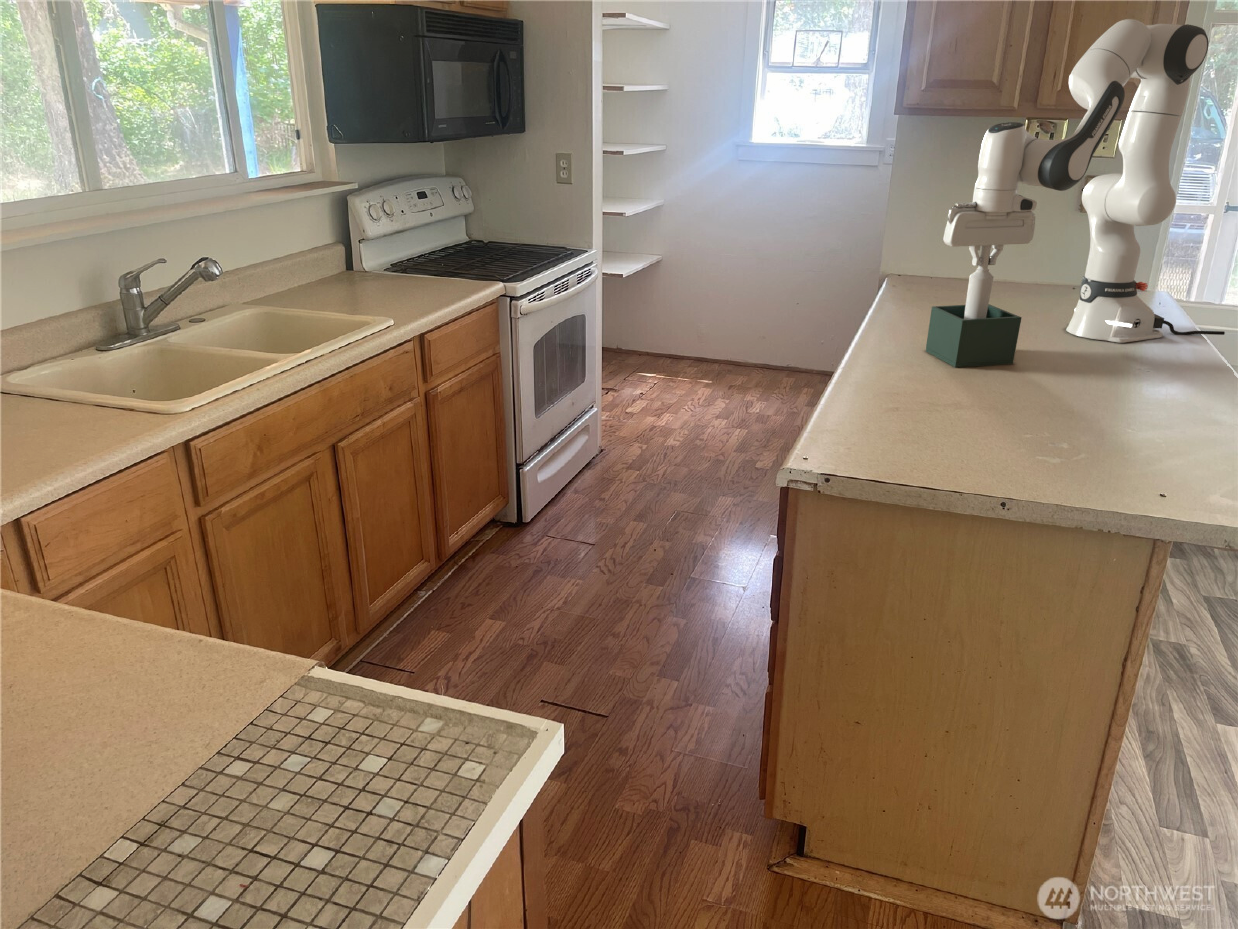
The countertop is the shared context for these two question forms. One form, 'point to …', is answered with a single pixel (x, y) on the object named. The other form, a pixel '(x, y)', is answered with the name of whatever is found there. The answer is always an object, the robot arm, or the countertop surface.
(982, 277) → the bottle
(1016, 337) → the bin
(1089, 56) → the robot arm
